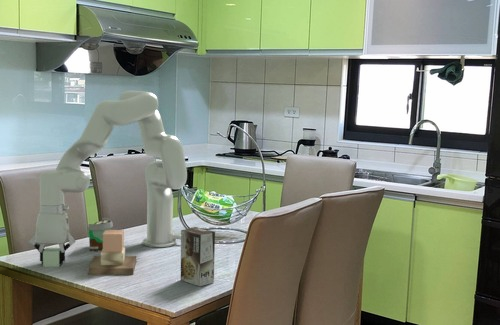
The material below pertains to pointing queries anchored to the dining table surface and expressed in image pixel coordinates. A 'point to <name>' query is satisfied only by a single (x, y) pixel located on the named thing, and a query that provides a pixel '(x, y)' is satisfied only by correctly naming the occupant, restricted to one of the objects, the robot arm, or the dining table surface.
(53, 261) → the sage cube
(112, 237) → the terracotta cube
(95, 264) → the tower board
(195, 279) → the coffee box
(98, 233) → the food container
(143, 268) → the dining table surface
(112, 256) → the beech block
